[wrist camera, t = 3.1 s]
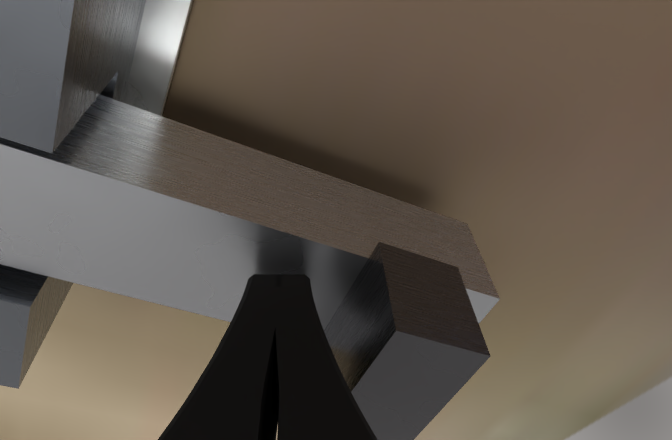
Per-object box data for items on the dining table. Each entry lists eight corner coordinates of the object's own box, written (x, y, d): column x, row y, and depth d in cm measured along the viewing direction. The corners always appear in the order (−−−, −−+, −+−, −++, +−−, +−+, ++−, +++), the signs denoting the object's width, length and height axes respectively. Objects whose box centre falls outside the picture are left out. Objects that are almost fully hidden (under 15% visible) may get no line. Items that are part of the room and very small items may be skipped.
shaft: (477, 210, 14) (554, 372, 10) (408, 305, 17) (447, 474, 12) (-419, -114, 9) (-1092, -73, 5) (-353, 85, 11) (-777, 244, 7)
